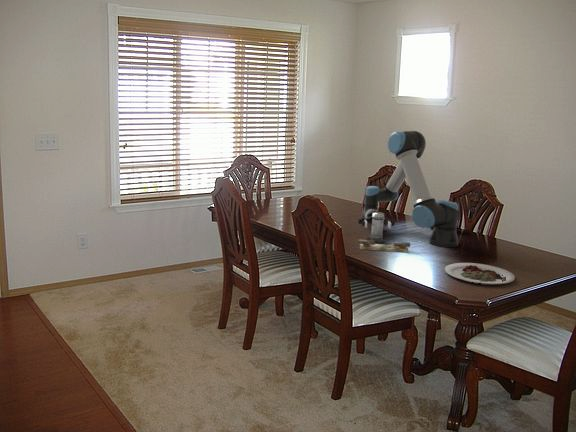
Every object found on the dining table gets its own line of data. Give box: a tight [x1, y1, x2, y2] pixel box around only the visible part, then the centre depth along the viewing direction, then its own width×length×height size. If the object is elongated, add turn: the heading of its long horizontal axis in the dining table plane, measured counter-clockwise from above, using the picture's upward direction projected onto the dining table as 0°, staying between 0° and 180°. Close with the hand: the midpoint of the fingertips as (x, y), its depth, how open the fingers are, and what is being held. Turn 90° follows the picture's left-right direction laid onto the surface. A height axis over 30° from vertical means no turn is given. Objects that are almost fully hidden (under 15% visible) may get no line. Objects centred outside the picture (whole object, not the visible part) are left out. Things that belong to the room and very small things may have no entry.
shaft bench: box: [358, 239, 411, 253], centre depth 313 cm, size 26×8×4 cm, turn 85°
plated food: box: [444, 262, 516, 285], centre depth 274 cm, size 30×30×3 cm
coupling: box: [370, 211, 385, 243], centre depth 328 cm, size 6×6×15 cm
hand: (378, 225), depth 324 cm, fingers open, 12 cm apart
